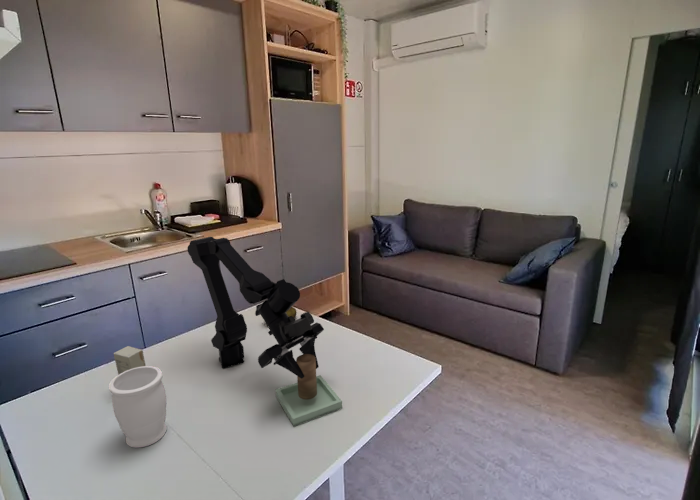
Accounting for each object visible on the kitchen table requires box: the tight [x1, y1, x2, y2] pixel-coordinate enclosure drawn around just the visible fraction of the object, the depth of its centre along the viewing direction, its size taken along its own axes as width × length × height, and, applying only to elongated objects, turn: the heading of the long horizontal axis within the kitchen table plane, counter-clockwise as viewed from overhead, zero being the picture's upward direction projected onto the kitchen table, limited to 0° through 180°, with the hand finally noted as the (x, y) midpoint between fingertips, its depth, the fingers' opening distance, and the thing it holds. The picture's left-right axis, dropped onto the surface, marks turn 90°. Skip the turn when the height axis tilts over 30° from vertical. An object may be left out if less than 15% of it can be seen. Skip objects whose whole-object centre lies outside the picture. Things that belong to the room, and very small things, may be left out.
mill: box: [295, 353, 317, 400], centre depth 97 cm, size 5×5×11 cm
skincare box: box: [113, 345, 147, 375], centre depth 103 cm, size 6×4×12 cm
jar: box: [108, 365, 167, 448], centre depth 87 cm, size 11×10×15 cm
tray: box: [275, 374, 343, 427], centre depth 99 cm, size 13×13×2 cm
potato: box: [286, 306, 297, 319], centre depth 143 cm, size 8×13×8 cm, turn 108°
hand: (310, 372), depth 96 cm, fingers closed on mill, 5 cm apart
